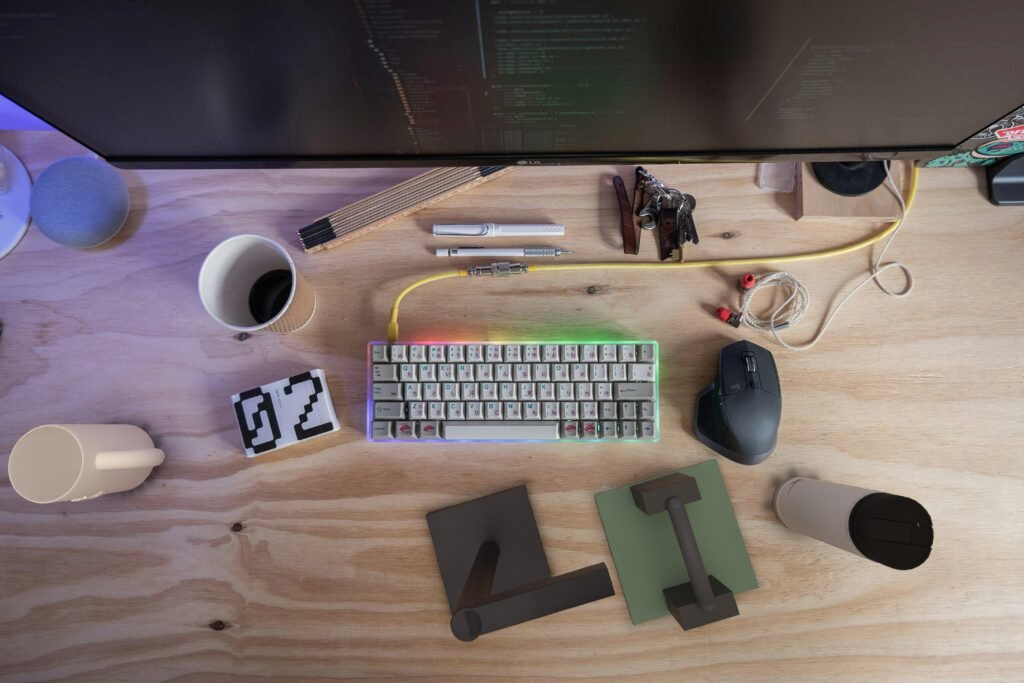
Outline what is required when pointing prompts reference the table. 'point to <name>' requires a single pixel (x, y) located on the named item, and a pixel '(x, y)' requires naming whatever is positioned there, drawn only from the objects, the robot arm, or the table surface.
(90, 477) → the mug
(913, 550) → the travel mug
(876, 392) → the table surface
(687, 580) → the desk mat
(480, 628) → the stand
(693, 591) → the square-ended dumbbell
